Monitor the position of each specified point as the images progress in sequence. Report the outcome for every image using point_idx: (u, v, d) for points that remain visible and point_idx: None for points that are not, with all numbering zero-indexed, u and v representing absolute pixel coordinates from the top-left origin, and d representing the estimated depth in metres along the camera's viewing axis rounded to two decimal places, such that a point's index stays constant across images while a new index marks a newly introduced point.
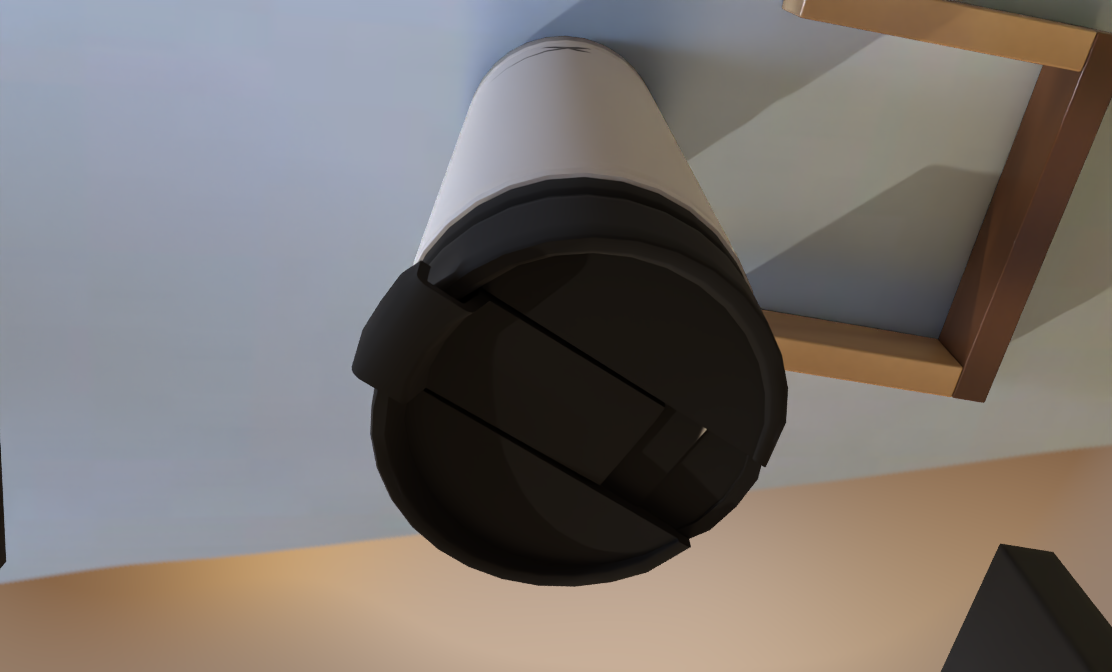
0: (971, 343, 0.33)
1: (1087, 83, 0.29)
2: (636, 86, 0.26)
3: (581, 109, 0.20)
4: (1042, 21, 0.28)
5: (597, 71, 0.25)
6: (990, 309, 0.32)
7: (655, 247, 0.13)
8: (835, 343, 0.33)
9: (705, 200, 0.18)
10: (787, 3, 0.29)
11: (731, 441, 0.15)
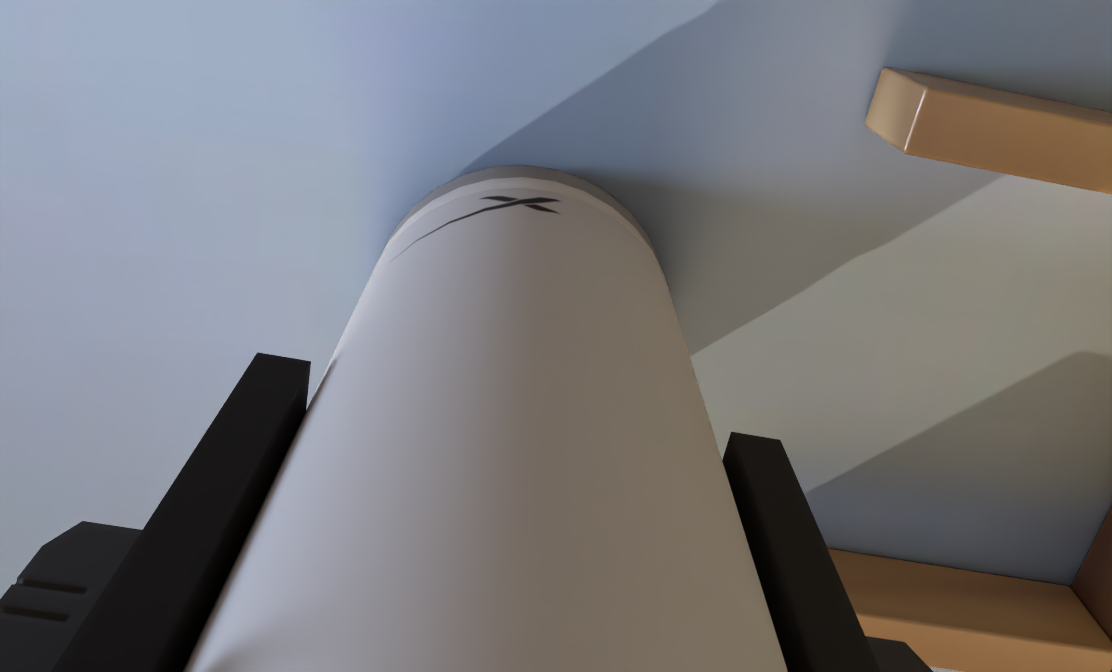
0: None
1: None
2: (634, 290, 0.15)
3: (508, 471, 0.09)
4: None
5: (564, 278, 0.14)
6: None
7: None
8: (931, 618, 0.22)
9: None
10: (875, 121, 0.19)
11: None
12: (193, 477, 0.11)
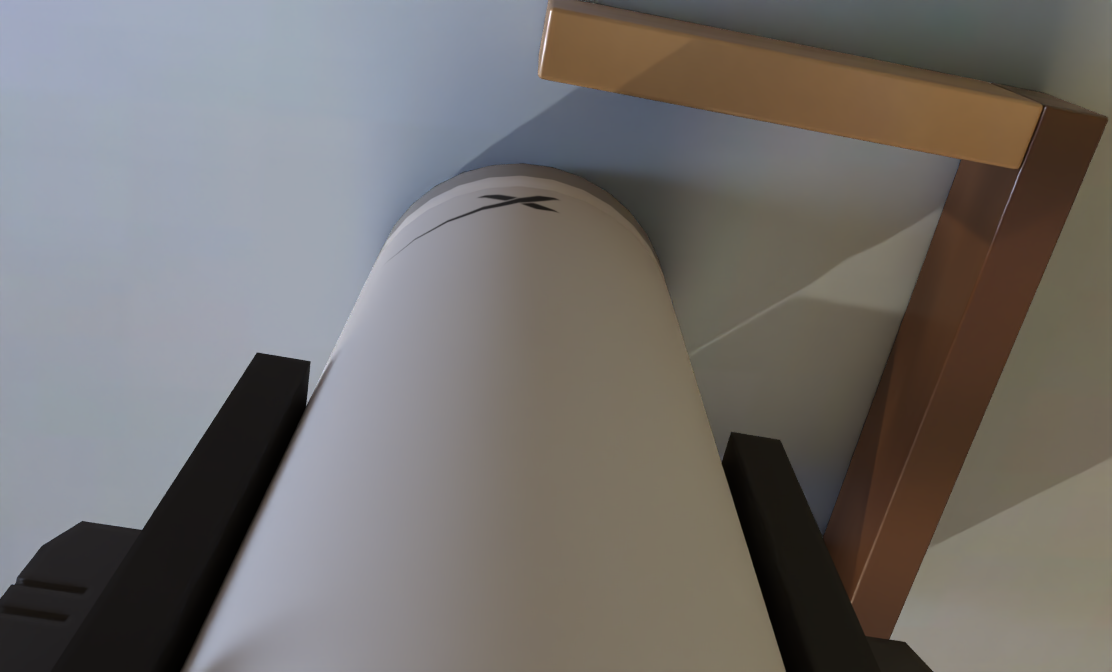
0: (858, 574, 0.21)
1: (1029, 188, 0.17)
2: (632, 289, 0.15)
3: (505, 470, 0.09)
4: (951, 87, 0.17)
5: (562, 277, 0.14)
6: (885, 527, 0.20)
7: None
8: None
9: None
10: None
11: None
12: (192, 477, 0.11)
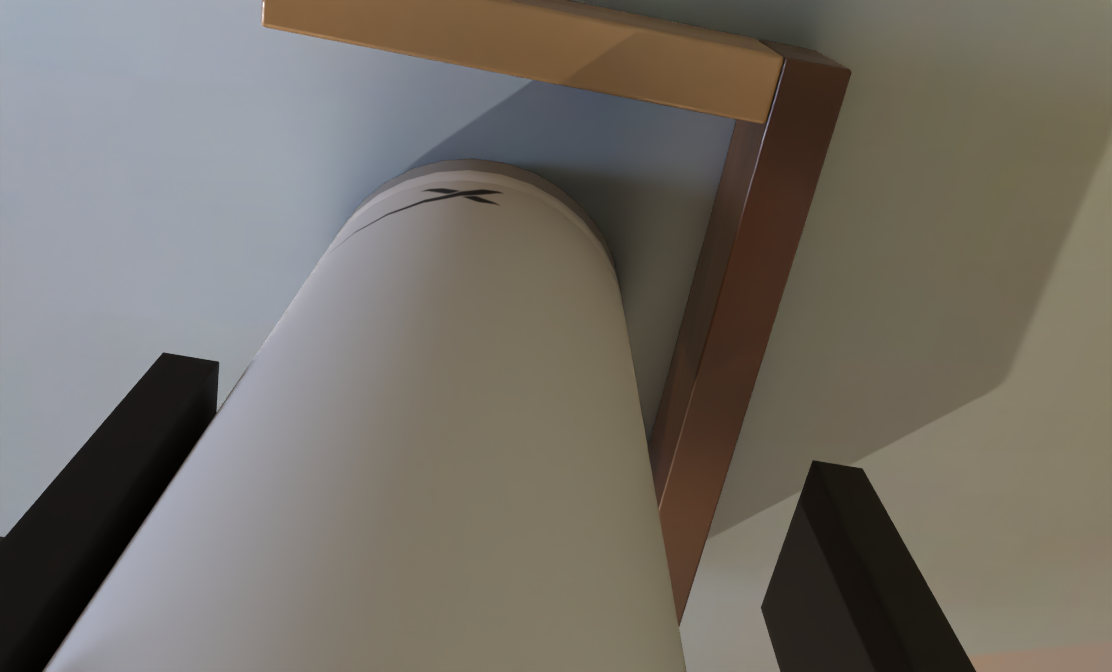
0: None
1: (777, 144, 0.17)
2: (566, 280, 0.15)
3: (388, 451, 0.09)
4: (687, 38, 0.16)
5: (489, 266, 0.14)
6: (666, 496, 0.20)
7: None
8: None
9: None
10: None
11: None
12: (68, 483, 0.10)
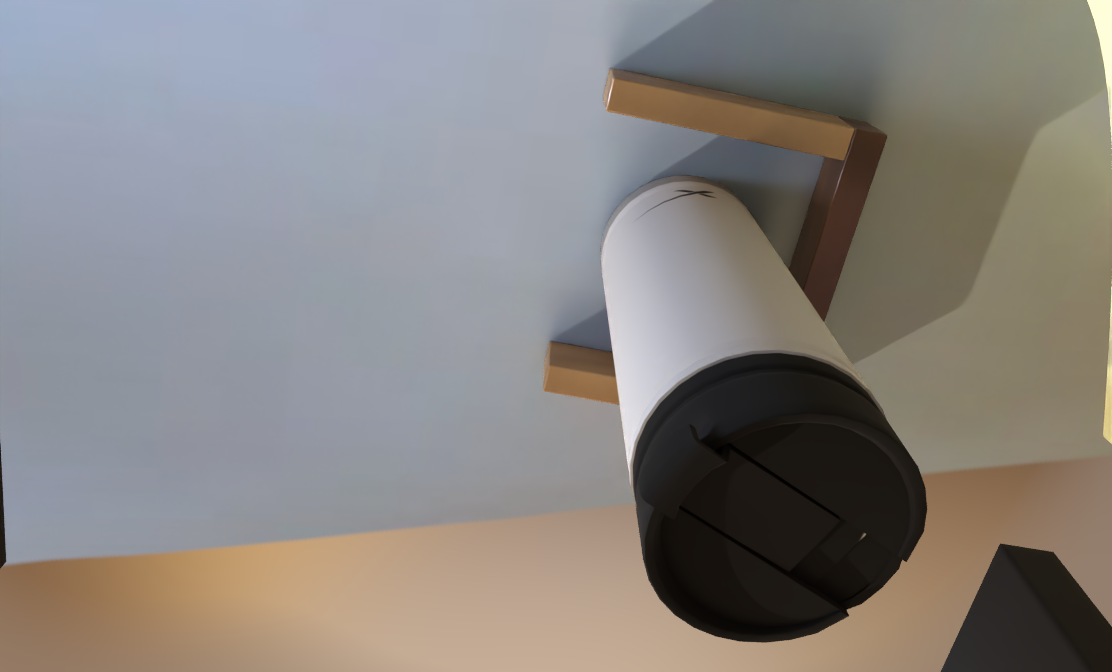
0: None
1: (850, 170, 0.35)
2: (759, 231, 0.32)
3: (743, 275, 0.26)
4: (808, 119, 0.34)
5: (732, 223, 0.31)
6: None
7: (849, 419, 0.19)
8: None
9: None
10: (604, 96, 0.35)
11: (884, 544, 0.21)
12: None
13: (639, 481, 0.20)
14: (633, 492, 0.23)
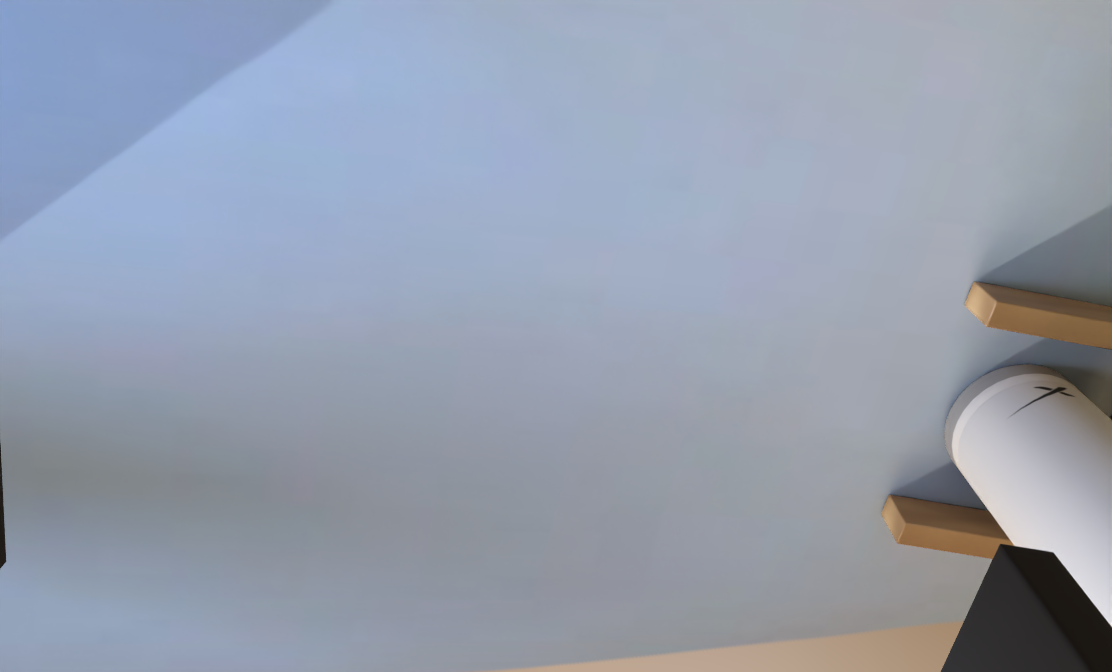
0: None
1: None
2: None
3: None
4: None
5: None
6: None
7: None
8: (991, 534, 0.45)
9: None
10: (971, 306, 0.42)
11: None
12: None
13: None
14: None
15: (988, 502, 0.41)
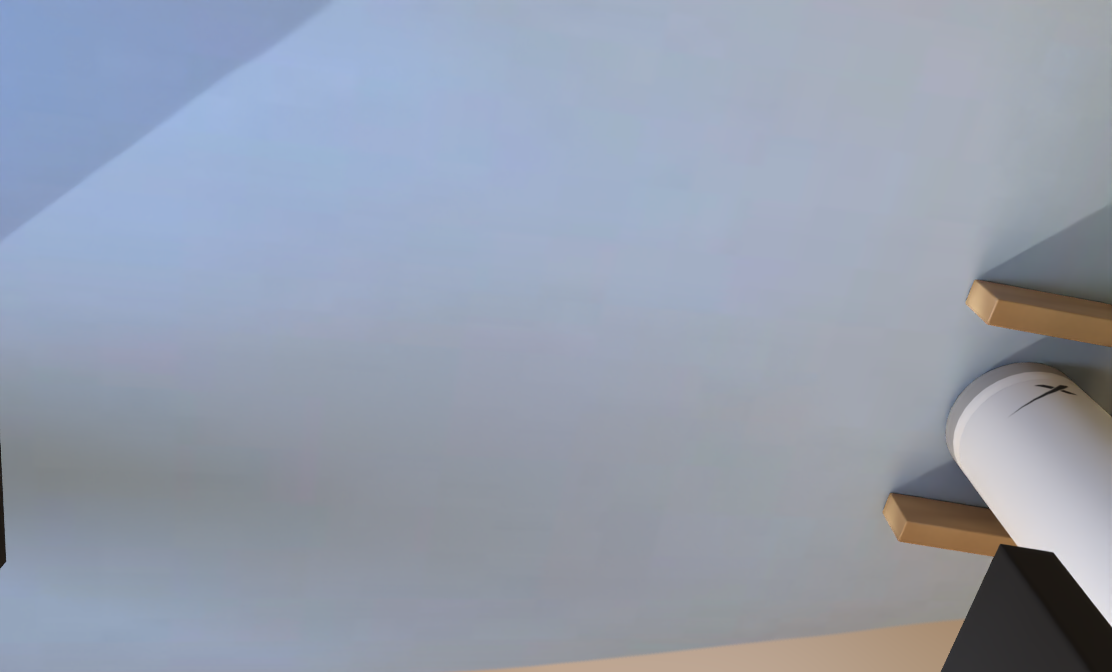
0: None
1: None
2: None
3: None
4: None
5: None
6: None
7: None
8: (992, 532, 0.45)
9: None
10: (972, 304, 0.42)
11: None
12: None
13: None
14: None
15: (989, 500, 0.41)
